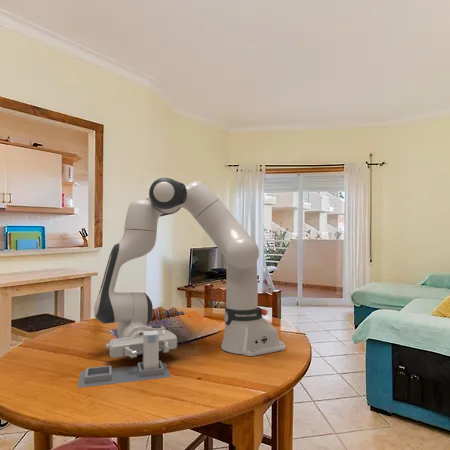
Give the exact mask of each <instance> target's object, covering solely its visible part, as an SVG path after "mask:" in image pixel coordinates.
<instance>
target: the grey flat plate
mask: <svg viewBox="0 0 450 450" xmlns="http://www.w3.org/2000/svg"><path fill="white" fill-rule="evenodd" d="M165 378H172V376H171V373H170V371H169V369H168V367H167V364H166V362H162V360H159V368H158V369H150V370H143V361H142V362H137V365H133V366H132V365H131V366H122V367H121V366H120V367H113V368H112V365H103V366H94V367H93V366H92V367H86V368H85V370H82V371H80V372H79V376H78V382H77V383H78V384H77V389H81V388H89V387H95V386H97V387H99V386H104V385H114V384H123V383H131V382H140V381H148V380H157V379H165Z"/></svg>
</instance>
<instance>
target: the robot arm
mask: <svg viewBox="0 0 450 450" xmlns="http://www.w3.org/2000/svg"><path fill="white" fill-rule="evenodd" d="M181 208H183V209H185V210H187V211H188V212H189V213H190V215H192V217H193V218H194V219H195V221H196V222H197V223H198V224H199V226H201V228H202V229H203V230H204V232H205V233H206V235H208V237H209V238H210V239H211V241H212V242H213V243H214V245H215V246H216V247H217V248H218V251H220V252H221V254H222V255H223V256H224V258H225V260H226V282H225V284H226V289H225V290H226V291H225V296H226V297H225V307H224V318H223V319H224V323H225V324H224V331H223V338H222V342H221V345H220V347H221V349H222V350H223V351H225V352H227V353H231V354H238V355H244V356H247V357H255V356H260V355H265V354H270V353H276V352H279V351H280V352H281V351H285V350H286V344H285V342H284V341H282V340H280V337H279V333H278V330H277V328H276V326H274V325H273V324H271V323H270V322H269V321H267V320H266V319H265V318H264V317H263V316H267V315H268V310H267V309H265V308H261V307H260V306H258V304H259V303H258V302H259V301H258V297H259V296H258V294H259V287H258V286H259V285H258V284H259V281H258V259H259V256H260V250H259V246H258V244H257V242H256V241H255V240H254V239H253V237H252V236H250V234H249V233H248V232H247V230H246V229H244V227H243V226H242V224H241V223H239V221H238V220H237V219H236V217H234V215H233V213H231V211H230V210H229V209H228V208H227V207H226V206H225V204H224V203H223V202H222V201H221V200H220V198H219V197H218V196H217V195H216V193H214V191H212V190H211V189H210V188H209V186H207V185H206V184H205V183H203V182H202V181H199V180H194V181H191V182H189V183H187V184H186V185H185V184H184V182H183V183H182V182H180V181H177V180H175V179H172V178H170V177H160V178H158V179H156V180H154V181H153V182H152V183H151V184H150V187H149V190H148V197H146V198H137V199H134V200H132V201H131V202H130V204H129V205H128V208H127V212H126V215H125V222H124V229H123V230H124V231H123V235H122V238H121V239H120V241H119V242H118V243H116V244H114V245H113V247H112V248H111V251H110V254H109V256H108V260H107V263H106V267H105V270H104V274H103V278H102V281H101V286H100V289H99V291H98V295H97V298H96V300H95V303H94V307H93V311H94V312H93V313H94V318H96V319H97V321H99V322H101V323H102V324H105V325H106V324H114V323H117V325H116V333H117V337H118V338H113V339H110V341H109V342H107V343H106V344H105V348H106V349H109V356H110V358H114V359H116V358H122V357H130V358H131V359H134V358H137V357H138V356H139V355H143V331H155V330H157V331H158V333H159V352H161V351H162V353H169V352H170V350H175V349H177V347H178V337H177V335H176V334H174V333H173V332H172V331H170V330H169V329H165V327H163V326H148V324H149V323H150V321H151V318H152V313H153V309H154V308H153V302H152V300H151V299H150V296H148V294H147V293H146V292H115V289H116V288H115V287H116V283H117V281H118V276H119V273H120V269H121V268H122V266H123V265H124V264H126V263H128V262H129V261H132V260H134V259H138V258H141V257H144V256H146V255H148V254H149V253H150V252H152V251H153V249H154V248H155V245H156V243H157V236H158V235H157V234H158V222H159V218H160V217H164V216H169V215H173V214H176V213H177V212H178V211H180V210H181Z"/></svg>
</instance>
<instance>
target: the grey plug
mask: <svg viewBox="0 0 450 450" xmlns="http://www.w3.org/2000/svg"><path fill="white" fill-rule="evenodd" d="M159 353H160V351H159V333H158V331H157V330H155V331H143V354H142V362H143V370H150V369H158V368H159V361H160V360H159V359H160V356H159Z"/></svg>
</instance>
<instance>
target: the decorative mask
mask: <svg viewBox="0 0 450 450" xmlns="http://www.w3.org/2000/svg"><path fill="white" fill-rule="evenodd" d="M184 314H187V313H186V312H184V311H183V310H180V311H179V310H177V308H176V307H175V306H173V307H171V308H170V309H166V308H164V307H162V306H159V307H157V308H153V313H152V318H151V321H150V322H154V321H158V320H162V319H167V318H170V317H175V316H179V315H184Z"/></svg>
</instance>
